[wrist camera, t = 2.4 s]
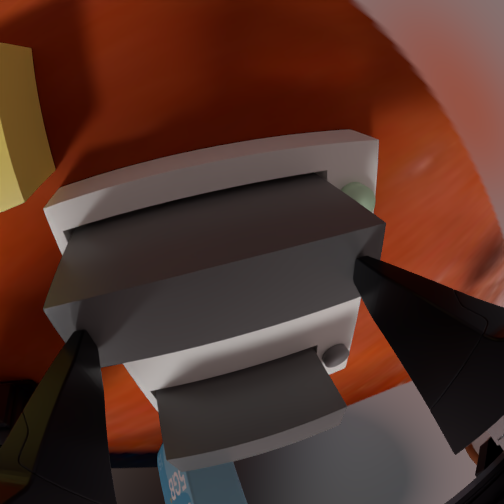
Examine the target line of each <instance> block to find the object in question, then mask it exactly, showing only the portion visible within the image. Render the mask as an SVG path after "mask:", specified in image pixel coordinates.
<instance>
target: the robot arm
mask: <svg viewBox="0 0 504 504" xmlns="http://www.w3.org/2000/svg"><path fill="white" fill-rule="evenodd" d="M353 282H354V284H355V286H356V288H357V290H358V292H359V294H360V296H361V298H362V299H363V301H364V303H365V305H366V307H367V309H368V311H369V313H370V314H371V316H372V318H373V320H374V321H375V323H376V324H377V326H378V327H379V329H380V330H381V332H382V333H383V335H384V336H385V338H386V339H387V341H388V343H389V344H390V346H391V347H392V349H393V350H394V352H395V353H396V355H397V357H398V358H399V360H400V361H401V363H402V365H403V366H404V368H405V369H406V371H407V373H408V374H409V376H410V377H411V379H412V381H413V382H414V384H415V386H416V387H417V389H418V391H419V392H420V394H421V395H422V397H423V399H424V401H425V402H426V404H427V406H428V407H429V409H430V411H431V413H432V415H433V416H434V418H435V420H436V422H437V423H438V425H439V427H440V429H441V431H442V432H443V434H444V436H445V438H446V440H447V442H448V443H449V445H450V447H451V449H452V451H453V452H454V454H455V455H456V454H457V453H459V452H460V451H462V450H463V449H464V448H466V447H467V446H468V445H470V444H471V443H472V442H473V441H475V440H476V439H477V438H478V437H480V436H481V435H482V434H483V433H484V432H486V431H487V432H488V433H489V434H490V437H489V438H488V439H487V440H486V441H485V442H484V443H483V444H482V445H481V446H480V449H479V456H478V462H477V468H476V473H475V475H476V478H475V479H474V480H473V481H472V482H471V483H470V484H469V485H467V486H466V487H465V488H464V489H463V490H461V491H460V492H459V493H458V494H457V495H455V496H454V497H453V498H451V499H450V500H449V501H448V502H446V503H445V504H504V308H503V307H500V306H497V305H494V304H492V303H489V302H486V301H483V300H480V299H477V298H474V297H472V296H469V295H467V294H464V293H462V292H459V291H457V290H453V289H452V288H449V287H447V286H445V285H442V284H440V283H437V282H435V281H432V280H430V279H427V278H425V277H422V276H420V275H417V274H414V273H412V272H409V271H407V270H404V269H402V268H399V267H396V266H394V265H391V264H389V263H386V262H383V261H381V260H378V259H375V258H373V257H370V256H362V257H359V258H357V259H356V260H355V265H354V272H353ZM0 504H117V502H116V497H115V491H114V485H113V479H112V473H111V466H110V458H109V450H108V441H107V430H106V418H105V401H104V390H103V382H102V375H101V367H100V358H99V351H98V347H97V345H96V344H95V342H94V341H93V339H92V338H91V336H90V335H89V333H88V332H87V330H85V329H82V330H77V331H74V332H73V333H72V335H71V336H70V338H69V339H68V340H67V342H66V343H65V345H64V346H63V348H62V349H61V351H60V352H59V354H58V355H57V357H56V358H55V360H54V361H53V363H52V364H51V366H50V367H49V369H48V370H47V372H46V373H45V375H44V377H43V378H42V380H41V381H40V383H39V385H37V384H36V383H35V382H34V381H31V380H23V381H13V382H1V383H0Z"/></svg>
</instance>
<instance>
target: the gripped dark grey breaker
mask: <svg viewBox="0 0 504 504" xmlns="http://www.w3.org/2000/svg"><path fill="white" fill-rule="evenodd" d="M385 226H386V223H385V222H384V221H383V220H381V219H380V218H379V217H377V216H376V215H375V214H373V213H372V212H371V211H369V210H368V209H366V208H365V207H364V206H362V205H361V204H360V203H358V202H357V201H355V200H354V199H353V198H351V197H350V196H348V195H347V194H345V193H344V192H343V191H341V190H340V189H338V188H337V187H335V186H334V185H332V184H331V183H329V182H328V181H326V180H325V179H323V178H322V177H320V176H319V175H317V174H316V173H314V172H312V173H306V174H300V175H294V176H288V177H282V178H277V179H271V180H266V181H261V182H256V183H250V184H245V185H240V186H236V187H231V188H226V189H221V190H217V191H212V192H207V193H203V194H198V195H194V196H190V197H185V198H181V199H177V200H173V201H169V202H165V203H161V204H157V205H153V206H149V207H145V208H141V209H137V210H134V211H130V212H126V213H122V214H119V215H115V216H112V217H108V218H105V219H101V220H98V221H94V222H91V223H88V224H84V225H81V226H78V227H75V228H74V231H73V233H72V235H71V237H70V239H69V242H68V244H67V246H66V249H65V251H64V253H63V256H62V258H61V261H60V263H59V266H58V268H57V271H56V273H55V276H54V278H53V281H52V284H51V287H50V289H49V292H48V295H47V298H46V301H45V304H44V307H43V310H44V312H45V314H46V315H47V317H48V318H49V320H50V321H51V323H52V324H53V326H54V327H55V329H56V330H57V332H58V333H59V335H60V336H61V338H62V339H63V340H64V342H65V343H66V342H67V340H68V339H69V338H70V336H71V335H72V333H73V332H74V331H77V330H82V329H85V330H87V332H88V333H89V335H90V336H91V338H92V339H93V341H94V342H95V344H96V345H97V347H98V351H99V358H100V367H106V366H112V365H117V364H122V363H127V362H132V361H137V360H142V359H147V358H151V357H156V356H161V355H165V354H169V353H174V352H178V351H182V350H186V349H190V348H195V347H199V346H203V345H206V344H210V343H214V342H218V341H222V340H225V339H229V338H233V337H236V336H240V335H244V334H247V333H251V332H254V331H258V330H261V329H264V328H268V327H271V326H274V325H278V324H281V323H284V322H287V321H291V320H294V319H297V318H300V317H303V316H306V315H309V314H312V313H315V312H318V311H321V310H324V309H327V308H330V307H333V306H336V305H339V304H342V303H344V302H347V301H350V300H353V299H356V298H358V297H361V296H360V294H359V292H358V290H357V288H356V286H355V284H354V282H353V272H354V265H355V260H356V259H357V258H359V257H362V256H370V257H373V258H375V259H378V260H380V257H381V252H382V246H383V239H384V233H385Z"/></svg>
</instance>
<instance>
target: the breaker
mask: <svg viewBox="0 0 504 504" xmlns="http://www.w3.org/2000/svg"><path fill="white" fill-rule="evenodd" d="M156 398H157V405H158V413H159V420H160V426H161V433H162V439H163V444H164V450H165V456H166V460H167V461H168V462H169V463H170V464H172V465H173V466H174V467H176V468H177V469H178V470H179V471H181V472H185V471H191V470H196V469H201V468H206V467H211V466H216V465H220V464H224V463H229V462H233V461H236V460H240V459H244V458H247V457H251V456H255V455H258V454H262V453H265V452H268V451H271V450H275V449H278V448H281V447H283V446H287V445H289V444H292V443H295V442H298V441H301V440H303V439H306V438H309V437H311V436H314V435H316V434H319V433H321V432H324V431H326V430H329V429H331V428H333V427H336V426H338V425H340V423H341V421H342V418H343V416H344V413H345V411H346V408H347V406H346V404H345V402H344V400H343V399H342V397H341V395H340V394H339V392H338V390H337V388H336V387H335V385H334V383H333V381H332V380H331V378H330V376H329V375H328V373H327V371H326V369H325V368H324V366H323V364H322V362H321V361H320V359H319V357H318V356H317V354H316V352H315V350H314V349H313V347H310V348H307V349H304V350H301V351H299V352H296V353H293V354H290V355H287V356H284V357H280V358H277V359H274V360H271V361H268V362H265V363H261V364H258V365H255V366H251V367H248V368H244V369H241V370H237V371H234V372H230V373H226V374H223V375H219V376H215V377H211V378H207V379H203V380H199V381H195V382H191V383H186V384H182V385H177V386H173V387H168V388H163V389H159V390H156Z"/></svg>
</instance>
